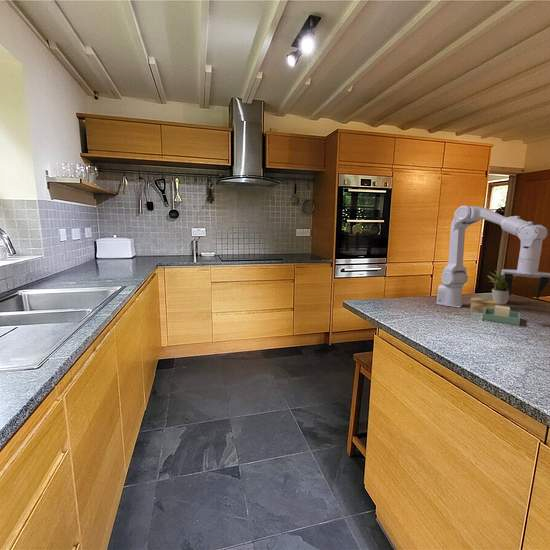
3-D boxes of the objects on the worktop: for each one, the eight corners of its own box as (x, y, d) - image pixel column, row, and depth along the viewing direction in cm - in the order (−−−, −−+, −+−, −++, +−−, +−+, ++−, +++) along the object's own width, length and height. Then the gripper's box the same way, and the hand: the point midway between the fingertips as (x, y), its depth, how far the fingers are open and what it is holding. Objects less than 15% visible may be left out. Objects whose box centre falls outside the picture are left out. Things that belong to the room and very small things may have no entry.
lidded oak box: (469, 310, 126) (470, 299, 125) (470, 307, 131) (472, 296, 130) (495, 314, 121) (496, 303, 120) (496, 311, 125) (497, 300, 124)
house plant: (516, 301, 144) (521, 267, 141) (526, 308, 131) (531, 271, 129) (481, 298, 150) (485, 265, 147) (487, 304, 137) (492, 269, 134)
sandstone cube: (493, 318, 114) (494, 307, 113) (493, 316, 118) (495, 305, 117) (508, 321, 111) (509, 309, 111) (508, 318, 115) (509, 307, 114)
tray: (482, 319, 114) (483, 313, 113) (484, 313, 122) (485, 307, 122) (519, 326, 107) (520, 319, 107) (518, 318, 116) (519, 312, 115)
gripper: (503, 258, 107) (497, 295, 109) (557, 261, 98) (551, 301, 100) (503, 257, 113) (498, 292, 115) (555, 260, 104) (549, 298, 106)
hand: (523, 296), depth 108 cm, fingers open, 7 cm apart
